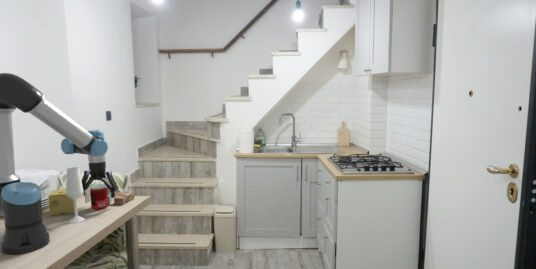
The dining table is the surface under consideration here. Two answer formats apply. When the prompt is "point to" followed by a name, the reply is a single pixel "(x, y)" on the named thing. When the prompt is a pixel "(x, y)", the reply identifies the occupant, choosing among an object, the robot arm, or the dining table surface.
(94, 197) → the canned food
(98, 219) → the dining table surface
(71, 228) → the dining table surface
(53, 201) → the cheese
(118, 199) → the plinth
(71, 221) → the champagne flute
